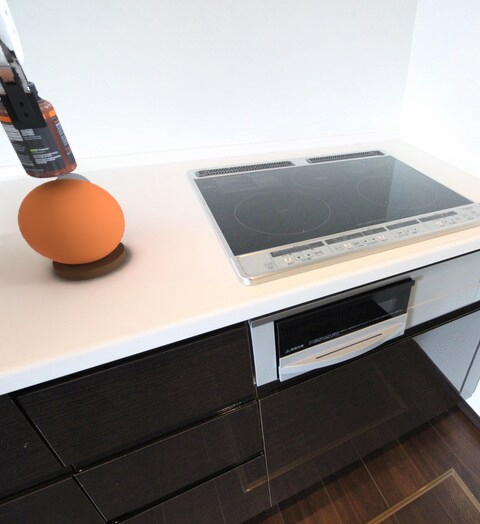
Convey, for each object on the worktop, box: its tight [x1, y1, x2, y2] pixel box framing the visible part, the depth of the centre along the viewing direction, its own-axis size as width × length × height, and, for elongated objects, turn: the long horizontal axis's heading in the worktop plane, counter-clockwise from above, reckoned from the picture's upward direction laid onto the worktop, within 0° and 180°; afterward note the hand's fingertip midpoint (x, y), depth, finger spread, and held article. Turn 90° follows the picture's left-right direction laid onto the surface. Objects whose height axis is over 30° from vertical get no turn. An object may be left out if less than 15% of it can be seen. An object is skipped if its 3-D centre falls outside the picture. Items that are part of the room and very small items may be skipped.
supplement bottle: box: [0, 81, 78, 179], centre depth 48 cm, size 6×6×11 cm
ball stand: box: [17, 178, 128, 281], centre depth 56 cm, size 13×13×14 cm
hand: (30, 120), depth 47 cm, fingers closed on supplement bottle, 6 cm apart
